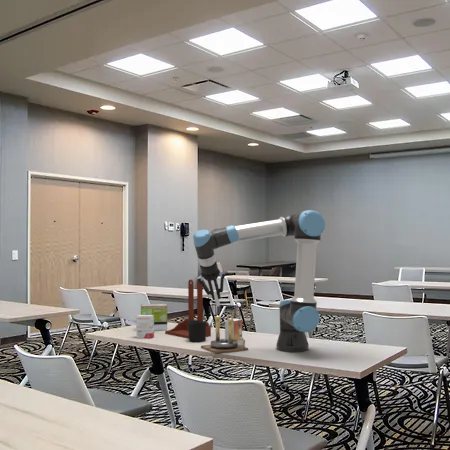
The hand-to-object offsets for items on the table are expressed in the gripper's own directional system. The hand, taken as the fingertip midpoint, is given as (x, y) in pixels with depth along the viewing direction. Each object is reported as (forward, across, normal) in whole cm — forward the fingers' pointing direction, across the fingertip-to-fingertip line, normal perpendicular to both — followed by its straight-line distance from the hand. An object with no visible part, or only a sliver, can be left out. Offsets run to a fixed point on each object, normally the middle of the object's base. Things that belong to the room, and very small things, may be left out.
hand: (218, 304), depth 249 cm
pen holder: (+32, -16, +14) cm, 38 cm away
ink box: (+32, -45, +25) cm, 61 cm away
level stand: (+23, -2, -5) cm, 23 cm away
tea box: (+46, -45, +47) cm, 79 cm away
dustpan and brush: (+40, -23, +30) cm, 55 cm away
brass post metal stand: (+21, -1, -4) cm, 22 cm away
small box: (+35, +2, +14) cm, 38 cm away
